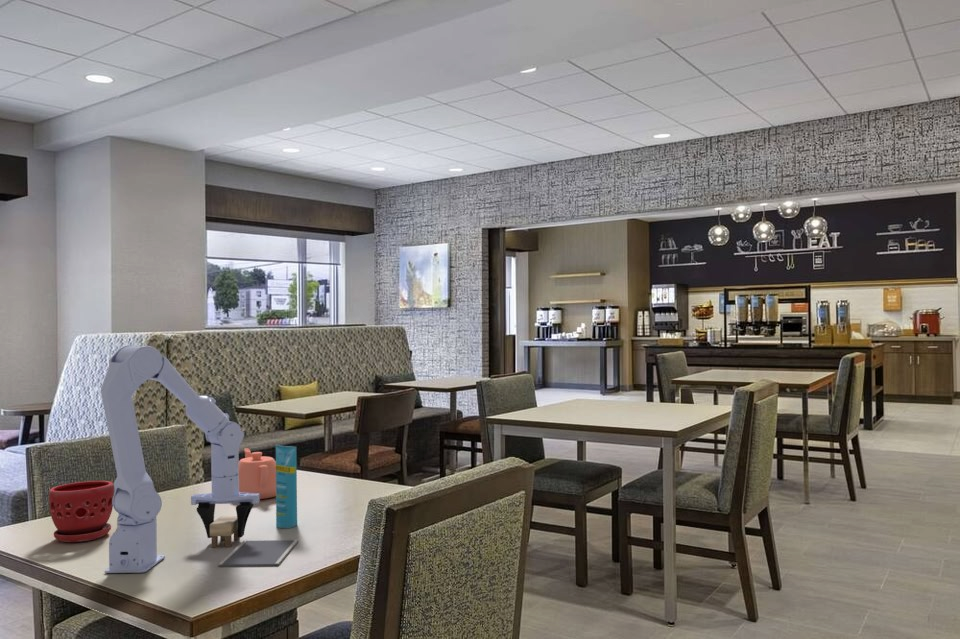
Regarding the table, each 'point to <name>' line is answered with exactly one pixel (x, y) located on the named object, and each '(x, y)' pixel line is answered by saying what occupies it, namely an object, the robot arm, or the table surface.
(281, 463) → the tube
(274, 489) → the teapot
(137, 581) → the table surface
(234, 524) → the stool
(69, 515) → the plant pot
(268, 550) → the mat
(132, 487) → the robot arm
